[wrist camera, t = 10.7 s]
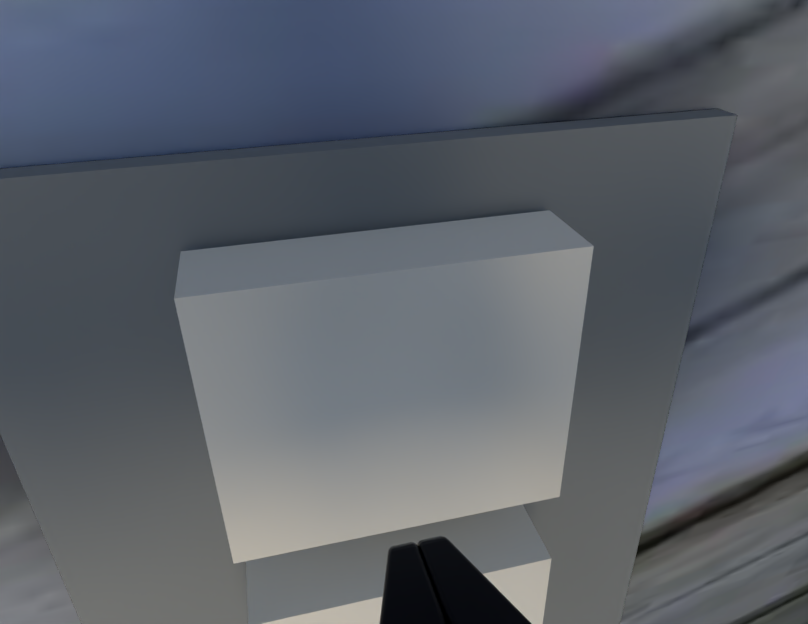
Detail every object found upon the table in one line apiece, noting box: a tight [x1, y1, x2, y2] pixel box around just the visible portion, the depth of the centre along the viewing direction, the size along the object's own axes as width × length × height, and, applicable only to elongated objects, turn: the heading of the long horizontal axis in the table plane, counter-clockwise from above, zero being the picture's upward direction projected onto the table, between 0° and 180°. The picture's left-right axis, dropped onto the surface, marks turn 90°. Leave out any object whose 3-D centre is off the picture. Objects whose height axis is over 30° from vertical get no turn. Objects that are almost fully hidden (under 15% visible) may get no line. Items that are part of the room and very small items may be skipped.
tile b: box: [174, 210, 594, 564], centre depth 13 cm, size 2×6×7 cm
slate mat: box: [0, 109, 738, 624], centre depth 16 cm, size 15×17×1 cm
